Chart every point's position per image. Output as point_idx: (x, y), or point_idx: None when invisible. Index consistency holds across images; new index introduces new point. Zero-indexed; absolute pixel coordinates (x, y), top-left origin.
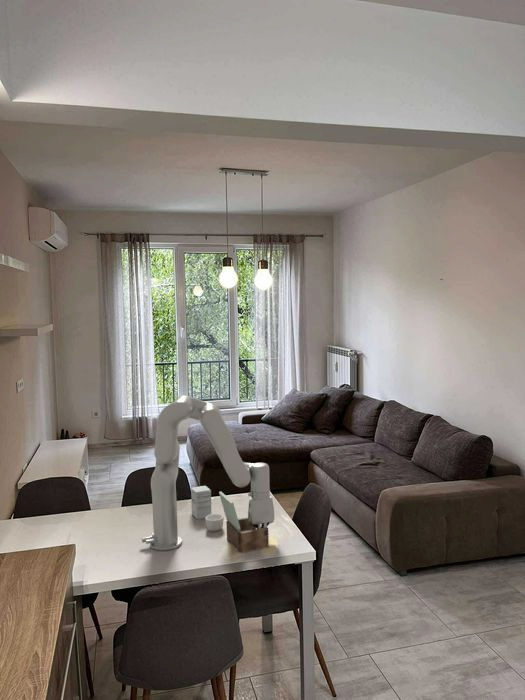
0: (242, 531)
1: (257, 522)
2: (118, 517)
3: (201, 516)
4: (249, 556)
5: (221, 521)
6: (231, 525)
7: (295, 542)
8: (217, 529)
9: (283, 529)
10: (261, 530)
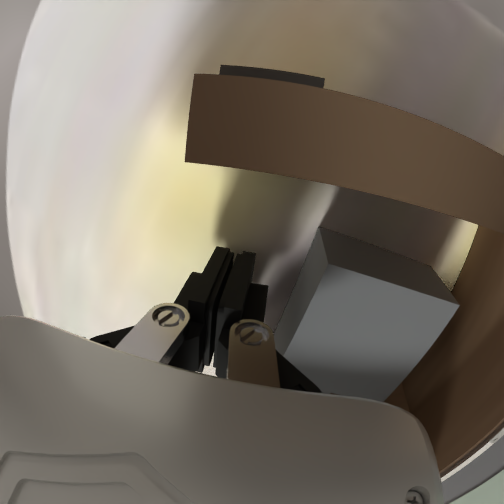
0: None
1: (330, 424)
2: None
3: None
4: (487, 76)
5: None
6: (487, 439)
7: (41, 95)
8: None
9: (53, 309)
10: (406, 118)
